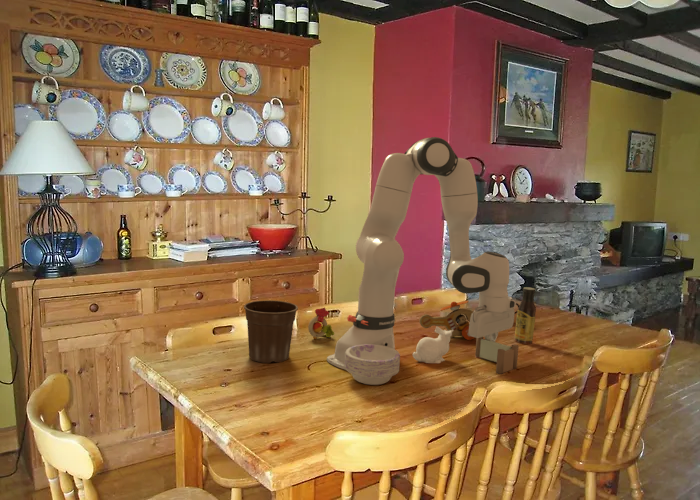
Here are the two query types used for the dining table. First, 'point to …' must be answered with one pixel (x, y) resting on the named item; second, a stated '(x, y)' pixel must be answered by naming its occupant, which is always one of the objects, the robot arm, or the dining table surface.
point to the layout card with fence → (506, 359)
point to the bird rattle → (317, 327)
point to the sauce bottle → (525, 317)
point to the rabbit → (433, 347)
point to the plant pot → (270, 329)
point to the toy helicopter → (451, 320)
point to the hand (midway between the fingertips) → (490, 346)
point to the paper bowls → (372, 363)
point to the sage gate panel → (489, 349)
